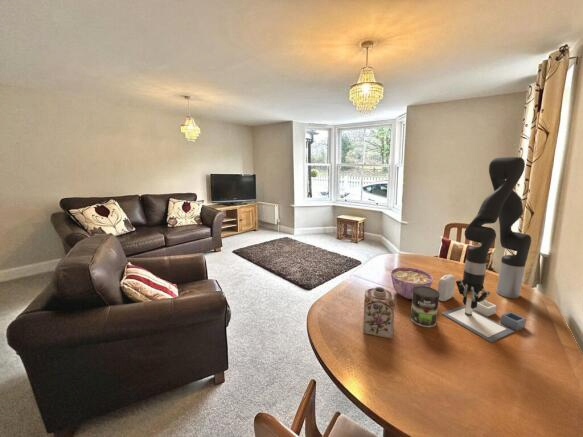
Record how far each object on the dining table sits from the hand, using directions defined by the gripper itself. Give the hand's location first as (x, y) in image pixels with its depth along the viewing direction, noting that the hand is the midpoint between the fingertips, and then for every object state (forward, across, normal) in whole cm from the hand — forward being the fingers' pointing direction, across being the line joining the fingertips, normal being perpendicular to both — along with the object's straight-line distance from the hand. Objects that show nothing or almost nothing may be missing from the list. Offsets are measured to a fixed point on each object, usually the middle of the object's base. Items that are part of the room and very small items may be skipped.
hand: (469, 306), depth 114 cm
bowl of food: (+5, +24, +9) cm, 27 cm away
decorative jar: (+5, +10, +43) cm, 44 cm away
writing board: (+5, -4, +2) cm, 7 cm away
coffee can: (+5, +6, +21) cm, 22 cm away
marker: (+4, 0, 0) cm, 4 cm away
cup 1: (+5, -1, -10) cm, 11 cm away
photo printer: (+5, +15, -5) cm, 17 cm away
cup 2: (+5, -12, -10) cm, 16 cm away
